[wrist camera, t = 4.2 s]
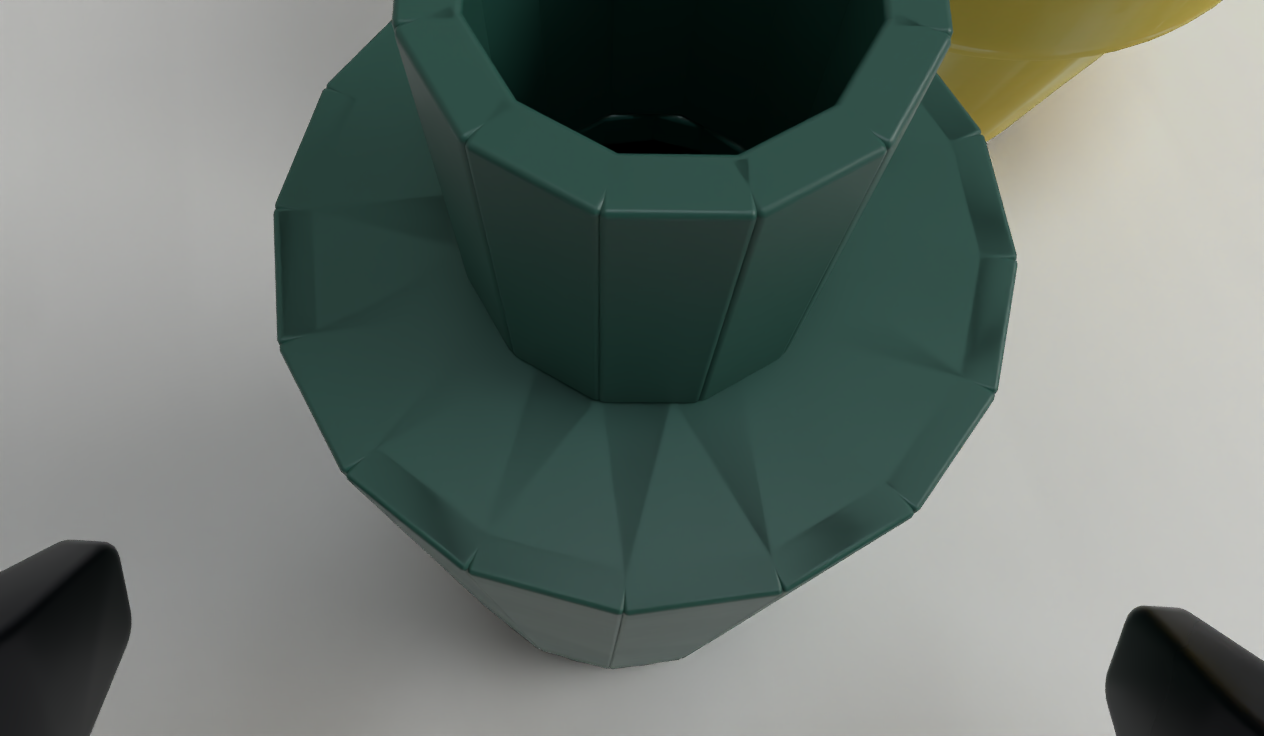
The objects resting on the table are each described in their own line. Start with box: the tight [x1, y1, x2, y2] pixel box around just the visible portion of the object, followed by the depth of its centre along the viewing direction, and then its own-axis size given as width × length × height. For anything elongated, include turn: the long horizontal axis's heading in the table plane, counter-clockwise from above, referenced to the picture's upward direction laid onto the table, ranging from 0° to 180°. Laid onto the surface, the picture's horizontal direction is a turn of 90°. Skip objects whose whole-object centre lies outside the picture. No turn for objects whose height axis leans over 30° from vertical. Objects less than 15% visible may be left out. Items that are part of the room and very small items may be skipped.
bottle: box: [273, 0, 1017, 669], centre depth 13 cm, size 7×7×15 cm
